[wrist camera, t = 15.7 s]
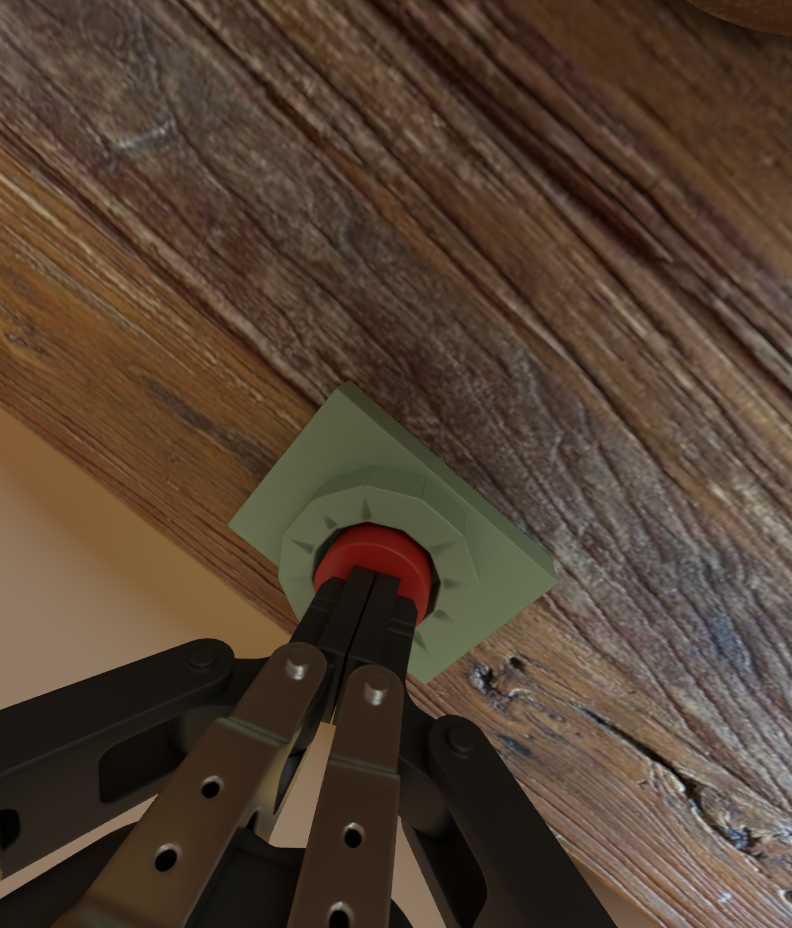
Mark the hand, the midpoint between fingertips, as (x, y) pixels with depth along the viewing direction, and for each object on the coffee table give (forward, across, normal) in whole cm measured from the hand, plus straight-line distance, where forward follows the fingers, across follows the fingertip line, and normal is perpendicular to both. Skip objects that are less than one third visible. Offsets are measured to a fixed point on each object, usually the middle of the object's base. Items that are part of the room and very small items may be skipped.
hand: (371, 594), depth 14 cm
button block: (+4, 0, 0) cm, 4 cm away
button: (+2, 0, 0) cm, 2 cm away
